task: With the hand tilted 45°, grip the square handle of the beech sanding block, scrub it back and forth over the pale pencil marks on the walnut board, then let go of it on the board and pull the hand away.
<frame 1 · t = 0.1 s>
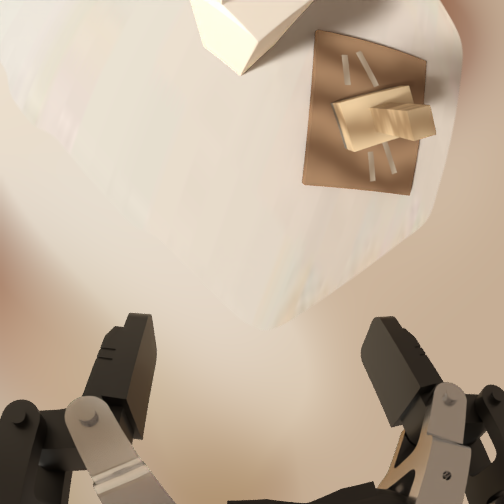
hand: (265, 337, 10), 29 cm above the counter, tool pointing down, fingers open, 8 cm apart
milk: (239, 44, 29), on the counter
board: (368, 115, 34), on the counter
sanding block: (372, 115, 33), point 1 cm above the counter, touching board
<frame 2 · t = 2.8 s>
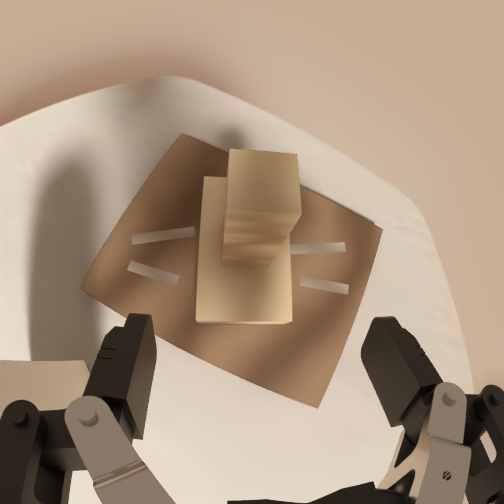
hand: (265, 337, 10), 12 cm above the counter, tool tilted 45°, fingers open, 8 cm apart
milk: (71, 403, 19), on the counter
board: (239, 261, 24), on the counter
sanding block: (241, 257, 23), point 1 cm above the counter, touching board
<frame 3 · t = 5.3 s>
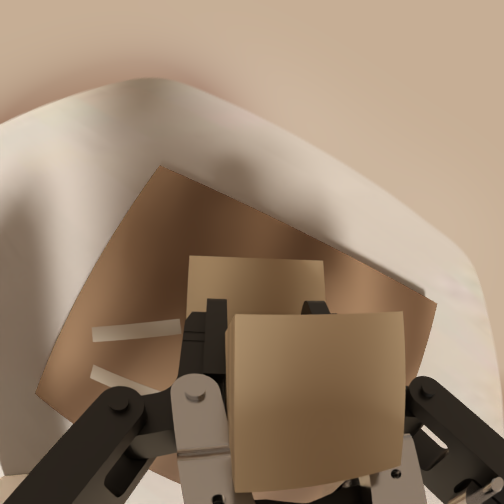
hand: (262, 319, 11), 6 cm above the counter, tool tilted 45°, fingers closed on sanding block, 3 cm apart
board: (247, 364, 16), on the counter
sanding block: (250, 370, 15), point 1 cm above the counter, touching gripper
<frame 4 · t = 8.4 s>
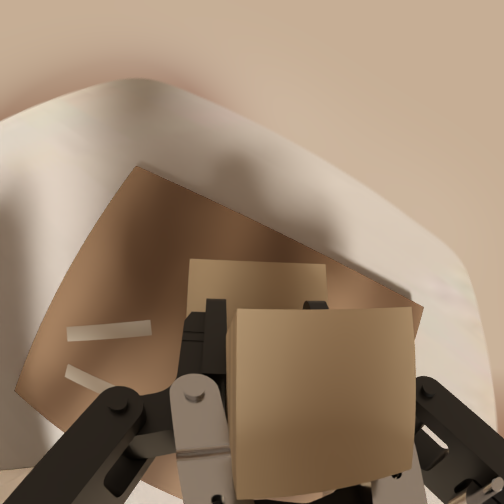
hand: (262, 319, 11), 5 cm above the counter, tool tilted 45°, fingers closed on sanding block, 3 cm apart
milk: (32, 503, 10), on the counter
board: (219, 367, 16), on the counter
sanding block: (251, 376, 14), point 1 cm above the counter, touching gripper
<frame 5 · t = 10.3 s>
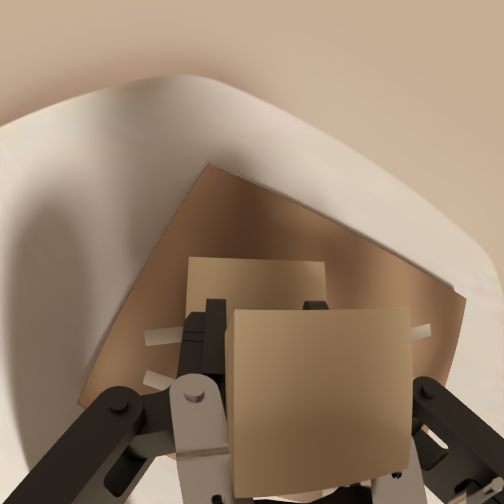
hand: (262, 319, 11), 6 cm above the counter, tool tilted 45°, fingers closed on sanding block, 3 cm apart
board: (302, 360, 16), on the counter
sanding block: (250, 373, 14), point 2 cm above the counter, touching gripper
when the fingers open (5 cm above the counter, at t = 11.8 s): sanding block stays where it is, resting on board.
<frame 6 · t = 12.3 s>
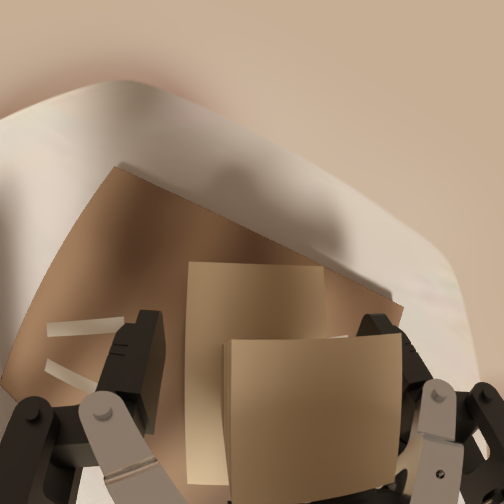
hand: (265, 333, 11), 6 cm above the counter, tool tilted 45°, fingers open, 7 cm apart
board: (192, 364, 16), on the counter
sanding block: (249, 374, 15), point 1 cm above the counter, touching board
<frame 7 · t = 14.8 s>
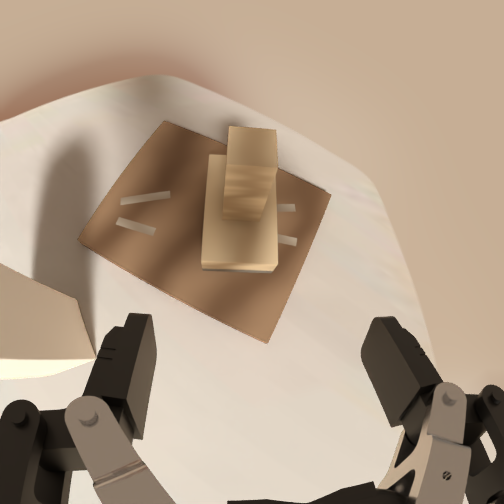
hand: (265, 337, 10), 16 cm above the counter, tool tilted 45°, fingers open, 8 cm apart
milk: (62, 338, 24), on the counter
board: (206, 219, 29), on the counter
sanding block: (238, 219, 28), point 1 cm above the counter, touching board
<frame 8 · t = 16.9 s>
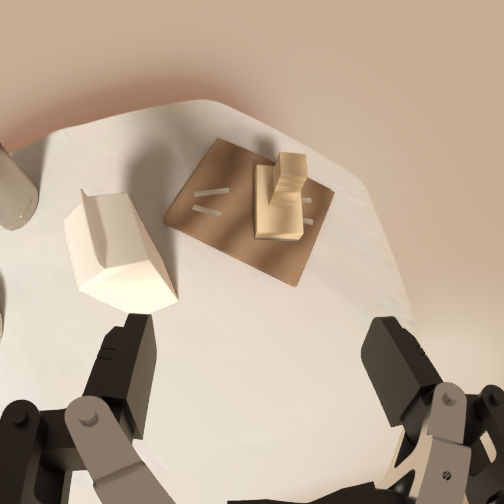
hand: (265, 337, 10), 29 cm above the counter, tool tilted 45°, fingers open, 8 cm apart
milk: (150, 289, 39), on the counter
board: (253, 207, 44), on the counter
sanding block: (275, 207, 43), point 1 cm above the counter, touching board
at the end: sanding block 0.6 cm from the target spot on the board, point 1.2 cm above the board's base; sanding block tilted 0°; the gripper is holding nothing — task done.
